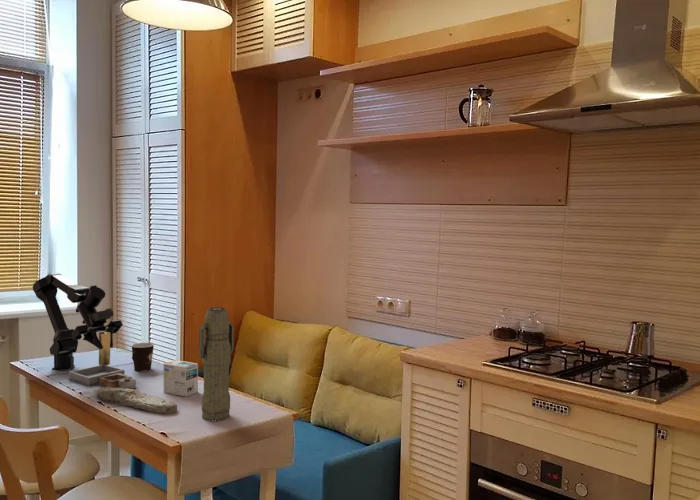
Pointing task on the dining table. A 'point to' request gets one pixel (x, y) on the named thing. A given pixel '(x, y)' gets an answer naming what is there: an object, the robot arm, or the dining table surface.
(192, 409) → the dining table surface
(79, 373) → the tray
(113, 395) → the elongated rock
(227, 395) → the headless robed statue
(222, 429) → the dining table surface
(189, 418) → the dining table surface
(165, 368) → the light bulb box
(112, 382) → the brown frame
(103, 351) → the pin
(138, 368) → the coffee mug
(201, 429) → the dining table surface
